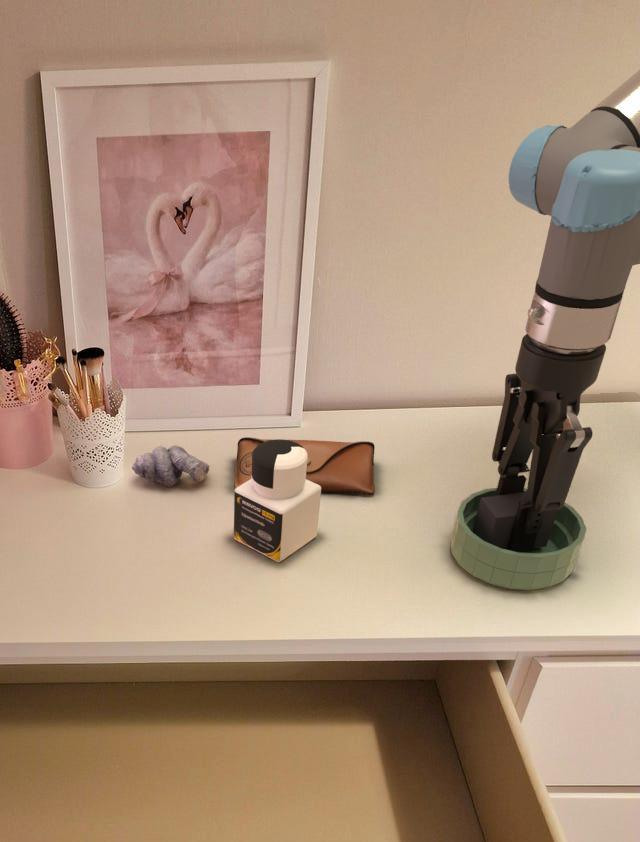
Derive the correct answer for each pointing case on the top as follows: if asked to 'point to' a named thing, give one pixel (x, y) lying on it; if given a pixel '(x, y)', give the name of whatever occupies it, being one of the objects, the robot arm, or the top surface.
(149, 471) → the seashell
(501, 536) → the eraser
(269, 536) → the medicine bottle
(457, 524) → the bowl
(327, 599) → the top surface
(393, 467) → the top surface
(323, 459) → the sunglasses case
